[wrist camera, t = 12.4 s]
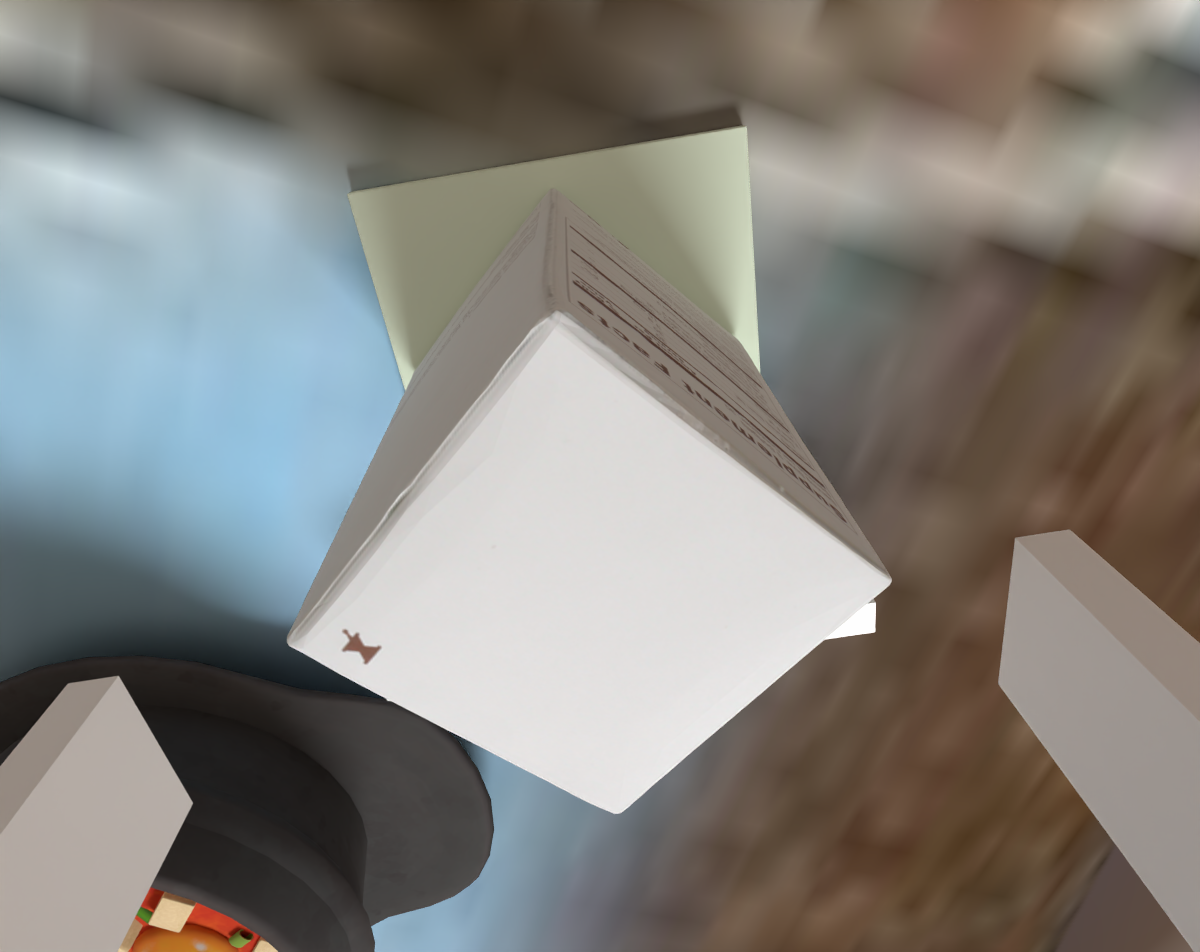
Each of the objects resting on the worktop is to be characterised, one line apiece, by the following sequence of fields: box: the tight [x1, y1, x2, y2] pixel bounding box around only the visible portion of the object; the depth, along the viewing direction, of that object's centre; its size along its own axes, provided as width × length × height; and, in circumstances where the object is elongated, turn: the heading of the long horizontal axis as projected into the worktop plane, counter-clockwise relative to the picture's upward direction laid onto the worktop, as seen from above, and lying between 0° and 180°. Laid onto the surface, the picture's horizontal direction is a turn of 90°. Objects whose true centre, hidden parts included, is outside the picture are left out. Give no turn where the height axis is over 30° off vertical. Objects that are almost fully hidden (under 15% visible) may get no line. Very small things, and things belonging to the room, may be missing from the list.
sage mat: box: [347, 125, 760, 391], centre depth 24 cm, size 11×11×1 cm
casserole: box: [0, 656, 494, 952], centre depth 29 cm, size 25×19×8 cm
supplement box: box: [287, 188, 892, 814], centre depth 18 cm, size 7×7×13 cm
